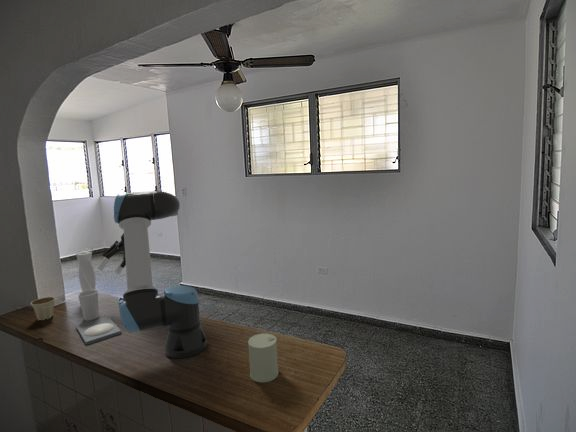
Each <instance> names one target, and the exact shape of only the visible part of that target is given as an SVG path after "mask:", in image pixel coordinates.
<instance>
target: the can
mask: <svg viewBox="0 0 576 432" xmlns="http://www.w3.org/2000/svg"><path fill="white" fill-rule="evenodd" d="M277 341H278V339H277V337H276V336H275V335H273V334H271V333H258V334H255V335H253V336H251V337H250V338H249V339H248V342H247V344H248V356H249V377H250V379H251V380H253V381H254V382H257V383H268V382H272V381H273V380H275V379H276V378H277V377H278V376H279V372H280V371H279V366H278V349H277V347H278V345H277V344H278V343H277Z"/></svg>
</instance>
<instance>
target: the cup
mask: <svg viewBox="0 0 576 432" xmlns="http://www.w3.org/2000/svg"><path fill="white" fill-rule="evenodd" d="M98 291H99V290H98V289H95V290H88V291H84V292H82V291H81V292H79V293H78V294H77V295H78V300H79V305H80V308H81V312H82V318H83V320H84V321H94V320H97V318H98V319H99V317H100V310H99V292H98Z"/></svg>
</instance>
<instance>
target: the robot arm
mask: <svg viewBox="0 0 576 432" xmlns="http://www.w3.org/2000/svg"><path fill="white" fill-rule="evenodd" d="M180 204H181V203H180V200H179V199H178V197H176V196H175V195H174V194H172V193H168V192H166V191H160V190H159V191H158V190H154V191H140V192H126V193H124V192H123V193H118V194H117V195H116V196H115V198H114V204H113V219H114V222H115V224H118V227H119V228H120V229H122V231H123V234H121V236H120V239H121V240H119V241H118V240H115V241H114V243H113V244H112V245H111V246H110V247H109V248H107V250H105V251H104V252H103V253H102V256H103V258H102V259H101V261H100V263H99V265H98V266H97V268H96V269H97V270H99V271H100V272H102V271H103V270H104V269H105V267H106V266H107V264H108V262H110V258H112V257H113V256H116V254H117V253H119V252H123V257H122V259H121V260H120V262H119V263H118V265H117V266H116V268H115V270H114V273H116V274H118V275H120V274H121V273H122V272H123V269H124V268H125V270H126V271H125V272H126V273H125V274H126V275H125V276H126V289H127V290H125V292H124V293H123V295H122V297H123V298H122V299H121V300H119V301H118V310H119V315H120V319H121V324H122V327H123V329H124V331H126V332H127V333H128V334H132V333H137V332H140V333H141V332H143V331H149V330H153V329H157V328H158V329H159V328H163V327H167V328H168V329H167V336H166V339H165V342H164V352H165V355H166V356H168V357H170V358H173V359H186V358H187V359H188V358H190V357H193V356H196V355H198V354H200V353H202V352H203V351H204V350H205V349H206V348H207V345H208V340H207V336H206V334H205V332H204V329H203V327H202V325H201V315H200V314H201V313H200V305H199V304H200V300H199V296H198V291H197V289H196V288H195V287H191V286H188V285H173V286H169V287H166V288H165V289H164V290H163V293H159V291H158V289H157V288H156V287H155V286H154V283H153V273H152V262H151V252H150V251H151V250H150V241H149V230H148V228H149V227H150V226H151V225H152V221H155V220H163V219H166V218H169V217H175V216H178V215H179V214H178V213H179V210H180Z"/></svg>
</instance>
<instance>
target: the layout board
mask: <svg viewBox="0 0 576 432" xmlns="http://www.w3.org/2000/svg"><path fill="white" fill-rule="evenodd" d="M75 328H76V331H77V332H78V334H79V336H80V337H81V338H82V340H83V342H84V344H85V345H86V346H87V345H91V344H93V343H94V344H95V343H96V342H100V341H102V340H105V339H108V338H111V337H115V336H118V335H121V334H122V330H121V328H119V327H118V325H117V324H116V323H115V322H114V321H113V320H112V319H111V318H110V316H109V315H108V316H105V317H102V318H98V319H93V320H90V321H88V322H85V323H81V324H78V325H75Z"/></svg>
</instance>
